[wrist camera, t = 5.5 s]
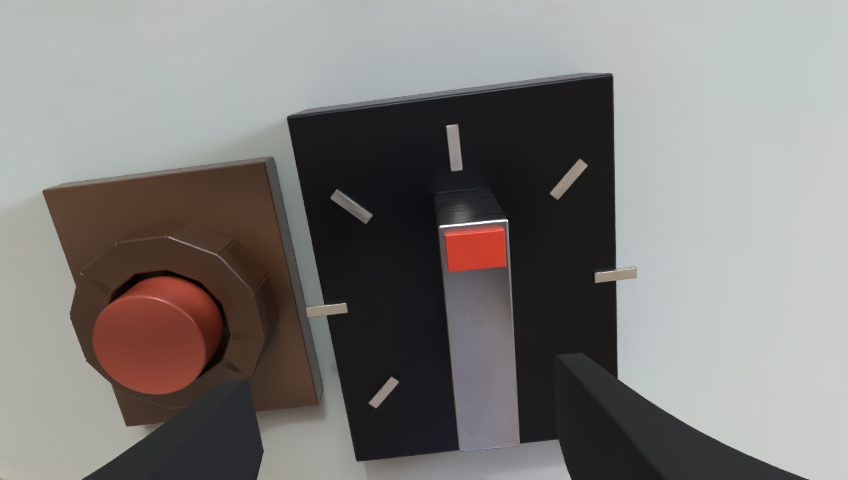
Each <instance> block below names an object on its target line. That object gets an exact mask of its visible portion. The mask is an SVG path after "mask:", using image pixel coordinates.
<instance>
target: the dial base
mask: <svg viewBox="0 0 848 480" xmlns="http://www.w3.org/2000/svg"><path fill="white" fill-rule="evenodd" d="M287 122H288V126H289V131H290V136H291V141H292V146H293V151H294V156H295V161H296V166H297V171H298V176H299V181H300V186H301V191H302V196H303V200H304V205H305V210H306V215H307V220H308V225H309V230H310V235H311V240H312V245H313V250H314V255H315V260H316V265H317V270H318V275H319V279H320V284H321V289H322V294H323V299H324V304H322V305H313V306H307V307H306V312H307V317H315V316H324V315H327V319H328V324H329V329H330V334H331V339H332V344H333V349H334V353H335V358H336V363H337V368H338V373H339V378H340V383H341V388H342V393H343V398H344V403H345V408H346V413H347V418H348V423H349V427H350V432H351V437H352V442H353V447H354V452H355V457H356V460H357V461H358V462H359V461H368V460H377V459H386V458H395V457H404V456H413V455H422V454H431V453H440V452H449V451H458V450H459V444H458V435H457V425H456V416H455V407H454V397H453V388H452V378H451V368H450V357H449V347H448V336H447V326H446V316H445V305H444V295H443V284H442V274H441V263H440V253H439V243H438V232H437V222H436V211H435V201H434V196H435V195H436V194H445V193H455V192H465V191H475V190H485V189H489V190H490V191H491V193H492V194H493V196H494V198H495V199H496V201H497V203H498V204H499V206H500V208H501V209H502V211H503V213H504V214H505V216H506V218H507V220H508V226H509V245H510V265H511V284H512V303H513V322H514V341H515V360H516V379H517V399H518V418H519V437H520V444H521V443H530V442H539V441H548V440H557V439H558V435H557V431H556V364H555V355H562V354H575V353H583V354H584V355H586V356H587V357H588V358H590V359H591V360H593V361H594V362H595V363H597V364H598V365H599V366H601V367H602V368H603V369H605V370H606V371H607V372H609V373H610V374H612V375H613V376H614V377H616V378H617V379H618V365H617V297H616V280H624V279H632V278H637V268H636V267H629V268H620V269H616V228H615V159H614V91H613V74H611V73H578V74H571V75H563V76H556V77H548V78H540V79H533V80H525V81H518V82H510V83H502V84H495V85H487V86H480V87H472V88H464V89H457V90H449V91H442V92H434V93H427V94H419V95H411V96H404V97H396V98H389V99H381V100H373V101H366V102H358V103H351V104H343V105H335V106H328V107H320V108H313V109H307V110H304V111H301V112H298V113H295V114H292V115H289V116H288V117H287Z"/></svg>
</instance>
